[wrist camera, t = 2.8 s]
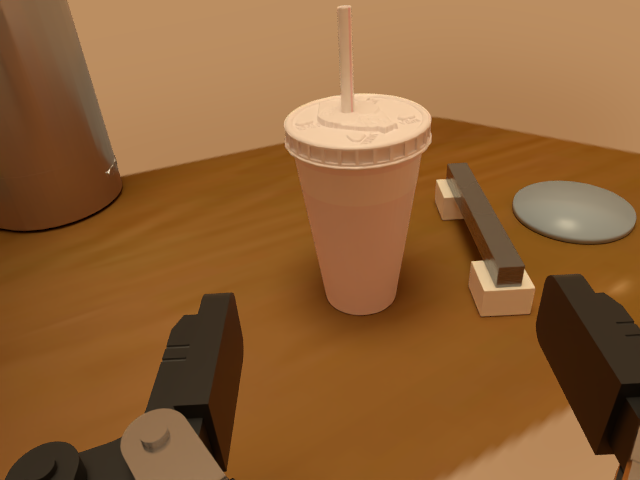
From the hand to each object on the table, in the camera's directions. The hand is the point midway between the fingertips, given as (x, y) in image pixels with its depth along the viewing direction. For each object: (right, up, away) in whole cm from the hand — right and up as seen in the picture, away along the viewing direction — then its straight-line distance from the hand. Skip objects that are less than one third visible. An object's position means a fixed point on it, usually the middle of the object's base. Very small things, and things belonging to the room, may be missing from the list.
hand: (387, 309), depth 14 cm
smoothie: (0, -1, +14) cm, 14 cm away
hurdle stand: (+7, +1, +17) cm, 18 cm away
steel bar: (+7, +3, +16) cm, 18 cm away
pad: (+14, +4, +19) cm, 24 cm away
